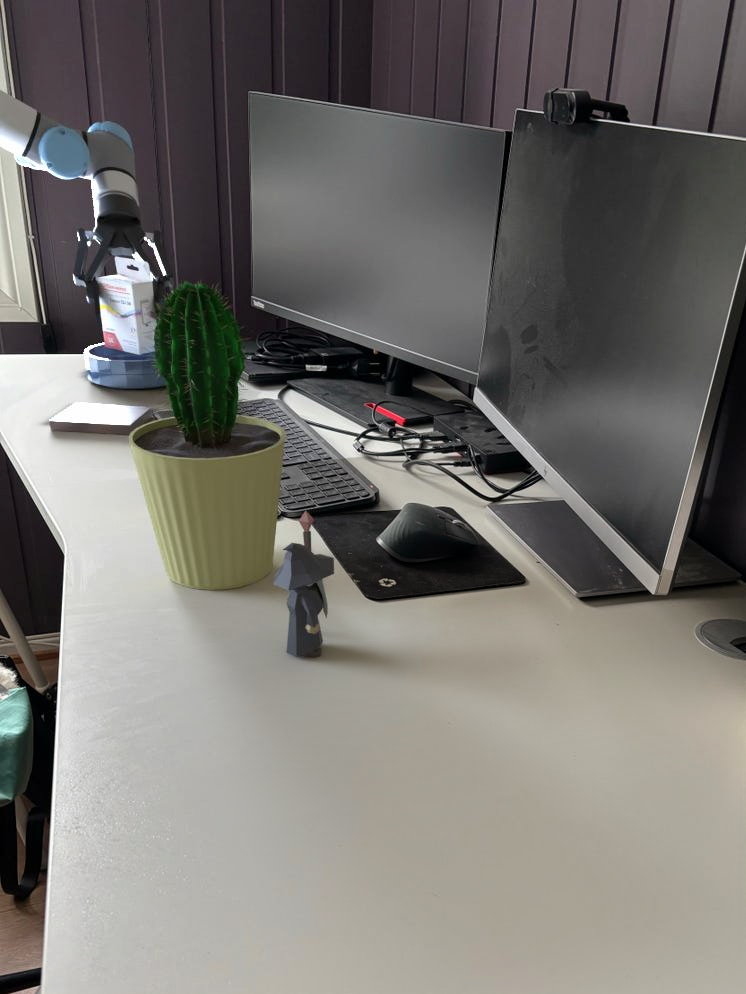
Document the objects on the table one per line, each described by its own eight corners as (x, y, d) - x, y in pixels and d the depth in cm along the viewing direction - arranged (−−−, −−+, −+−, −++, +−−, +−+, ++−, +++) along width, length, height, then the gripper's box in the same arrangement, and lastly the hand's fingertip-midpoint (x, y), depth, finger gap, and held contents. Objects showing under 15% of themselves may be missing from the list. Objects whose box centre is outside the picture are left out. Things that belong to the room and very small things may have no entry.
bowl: (73, 387, 163) (69, 358, 161) (108, 365, 177) (104, 338, 175) (168, 393, 163) (165, 363, 161) (195, 371, 177) (193, 343, 175)
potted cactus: (321, 569, 105) (312, 280, 90) (201, 613, 94) (169, 295, 80) (236, 528, 113) (215, 259, 99) (117, 565, 103) (74, 270, 88)
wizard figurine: (345, 660, 88) (343, 540, 82) (285, 671, 86) (279, 548, 80) (318, 621, 94) (314, 506, 88) (262, 630, 92) (254, 513, 86)
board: (50, 430, 142) (48, 420, 142) (77, 412, 151) (75, 402, 150) (131, 435, 142) (129, 425, 142) (152, 416, 151) (151, 407, 150)
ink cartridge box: (103, 347, 168) (91, 258, 160) (125, 343, 171) (114, 255, 164) (139, 355, 164) (129, 264, 157) (160, 350, 168) (151, 261, 161)
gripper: (181, 223, 175) (195, 331, 169) (53, 219, 168) (63, 331, 163) (180, 194, 168) (194, 305, 162) (46, 188, 161) (56, 304, 156)
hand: (128, 318), depth 162 cm, fingers closed on ink cartridge box, 9 cm apart
